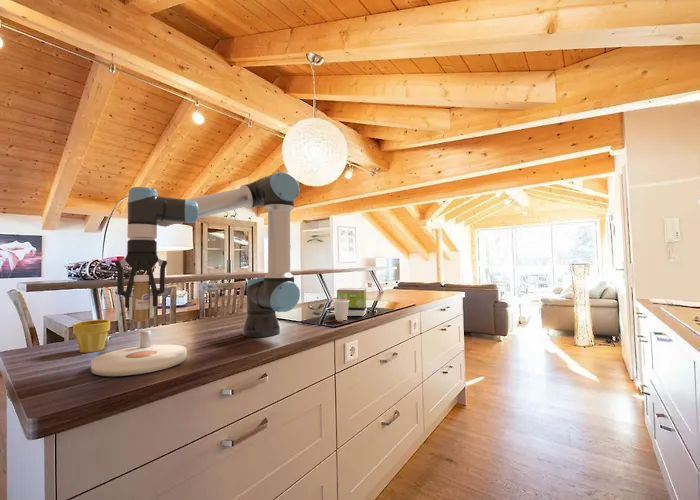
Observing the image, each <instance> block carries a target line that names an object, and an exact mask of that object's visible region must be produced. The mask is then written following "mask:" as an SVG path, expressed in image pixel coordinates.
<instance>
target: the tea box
mask: <svg viewBox="0 0 700 500" xmlns="http://www.w3.org/2000/svg"><path fill="white" fill-rule="evenodd" d="M336 300H349V306H348V316H364V315H365V314H366V315H367V288H355V287H353V288H352V287H349V288H348V287H347V288H346V287H345V288H344V287H341V288H338V289H337V290H336ZM366 315H365V316H366ZM365 316H364V317H365Z"/></svg>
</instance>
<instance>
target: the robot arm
mask: <svg viewBox="0 0 700 500" xmlns="http://www.w3.org/2000/svg"><path fill="white" fill-rule="evenodd" d="M300 189H301V188H300V184H299V182H298V179H296V177H294V175H293V174H291V173H290V172H287V171H279V172H278V171H276V172H274V173H272V174H270V175H267V176H265V177H262V178H259V179H256V180H255V181H253V182H249V183H247V184H242V185H241V186H240V187H239V188H235V189H230V190H225V191H221V192H215V193H210V194H206V195H202V196H201V195H200V196H197V197H196V196H195V197H192V198H191V197H190V198H186V199H185V198H184V199H183V198H175V197H174V198H173V197H164V196H159V194H158V190H157V189H155V188H152V187H146V186H132V187H131V188H130V189H129V190H128V196H127V197H128V198H127V237H126V238H128V240H127V242H126V243H127V244H126V245H127V246H126V248H127V250H126V251H127V253H126V256H125V258H123V259H121V260H116V261H114V265H115V267H116V270H117V275H116V276H117V277H116V279H117V280H116V281H117V283H116V284H117V286H116V287H117V288H116V289H117V292H116V293H117V294H118V295H119V296H122V297H124V307H125V308H126V309H128V314H129V315H128V317H129V318H128V320H129V321H131V320H132V321H133V295H132V294H133V289H134V288H133V287H134V283H133V282H134V276H135V275H138V272H140V271H143V272H144V271H146V275H148V276H149V282H150V291H151V293H152V294H150V319H153V318H154V307H157V306H158V303H159V301H158V299H159V298H158V296H159V295H161V294H163V293H165V288H166V287H165V285H166V283H165V282H166V281H165V280H166V268H167V265H168V261H167V260H163V259H161V258H159V256H158V254H157V252H158V251H157V249H158V247H157V246H158V245H157V244H158V243H157V242H158V241H156V239H157V237H158V227H165V228H166V227H169V226H172V225H176V224H180V223H181V224H182V223H183V224H195V223H196V222H197V221H198V220H199V218H204V217H209V216H213V215H216V214H221V213H224V212H230V211H233V210H237V209H242V208H246V209H253V208H257V207H258V208H259V207H263V208H264V209H265V210H266V211H267V272H266V274H265V275H264V277H255V278H251V279H248V280H247V282H246V289H245V290H246V317H245V321H244V324H243V327H242V336H243V337H246V338H247V337H248V338H263V337H272V336H276V335H279V334H280V332H281V329H280V328H281V326H280V324H279V321H278V318H277V317H278V316H277V313H287V312H289V311H291V310H294V308H295V307H296V306H297V305H298V304H299V300H300V297H301V296H300V295H301V290H300V288H299V286H298V285H297V284H296V283H295V276H294V274H293V273H292V272H291V213H292V210H294V209H295V200H296V199H297V198H298V197H299V195H300V192H301V191H300ZM157 263H158V267H160V268H159V289H158V288H157V284H156V280H155V277H154V276H155V275H154V271H153V268H154V266H155V265H156V264H157ZM126 264H127V265H128V266H129V267H130V268H131V271H130V274H129V278H128V279H129V280H128V282H127V285H126V289H125V278H124V277H125V274H124V273H125V270H124V269H125V267H126ZM276 312H277V313H276Z"/></svg>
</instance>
